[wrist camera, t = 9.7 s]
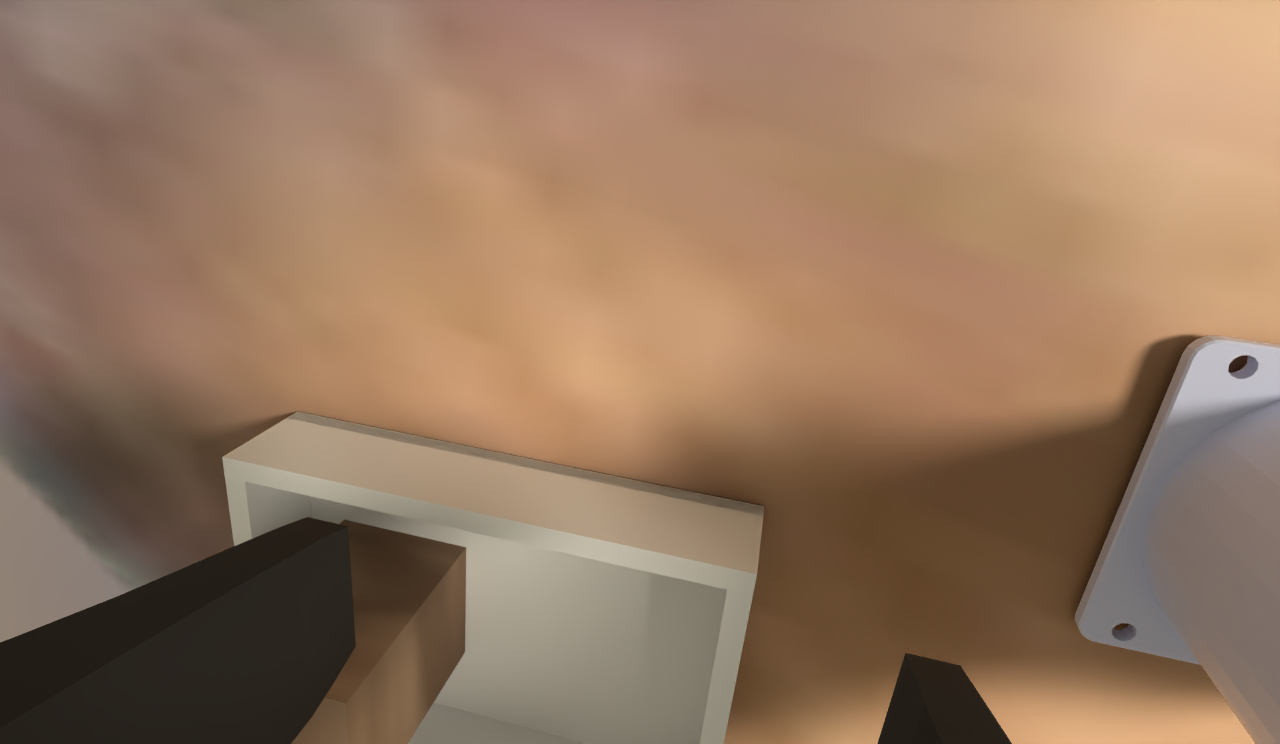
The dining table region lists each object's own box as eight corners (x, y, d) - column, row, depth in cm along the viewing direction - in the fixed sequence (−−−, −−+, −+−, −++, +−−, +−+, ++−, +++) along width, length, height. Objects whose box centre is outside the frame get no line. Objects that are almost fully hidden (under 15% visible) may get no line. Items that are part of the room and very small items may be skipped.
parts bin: (764, 506, 19) (757, 574, 16) (712, 777, 23) (698, 869, 20) (297, 411, 21) (221, 457, 19) (320, 671, 25) (261, 741, 22)
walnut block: (466, 547, 21) (346, 703, 16) (465, 651, 23) (355, 828, 17) (344, 519, 22) (187, 659, 16) (351, 623, 23) (210, 783, 18)
